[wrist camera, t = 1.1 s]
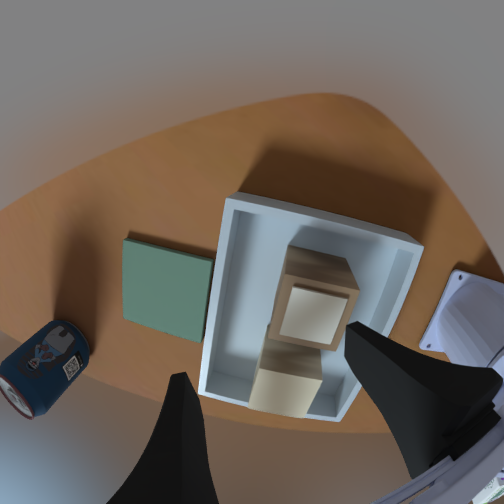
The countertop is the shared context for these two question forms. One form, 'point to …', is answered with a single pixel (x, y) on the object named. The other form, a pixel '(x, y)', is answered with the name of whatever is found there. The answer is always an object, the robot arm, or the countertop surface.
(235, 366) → the bin
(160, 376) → the countertop surface
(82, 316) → the countertop surface
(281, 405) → the birch block
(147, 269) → the mat
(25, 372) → the soda can
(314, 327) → the brown wooden block
